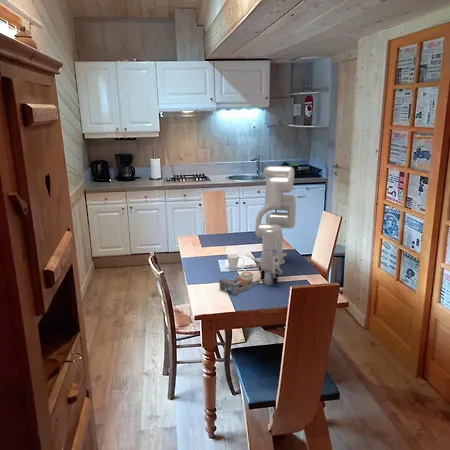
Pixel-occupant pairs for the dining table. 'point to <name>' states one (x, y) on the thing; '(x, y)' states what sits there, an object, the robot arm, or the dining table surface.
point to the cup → (233, 261)
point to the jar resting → (247, 276)
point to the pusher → (240, 281)
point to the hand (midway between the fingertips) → (269, 281)
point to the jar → (268, 278)
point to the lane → (235, 285)
